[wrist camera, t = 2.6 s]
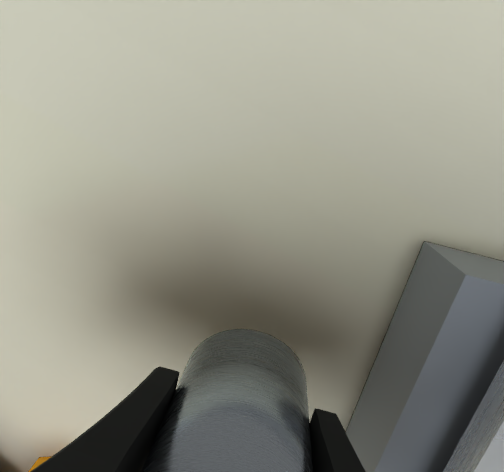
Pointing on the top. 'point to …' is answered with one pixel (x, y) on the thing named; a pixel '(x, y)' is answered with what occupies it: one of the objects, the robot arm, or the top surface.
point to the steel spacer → (236, 410)
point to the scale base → (432, 363)
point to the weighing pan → (483, 434)
